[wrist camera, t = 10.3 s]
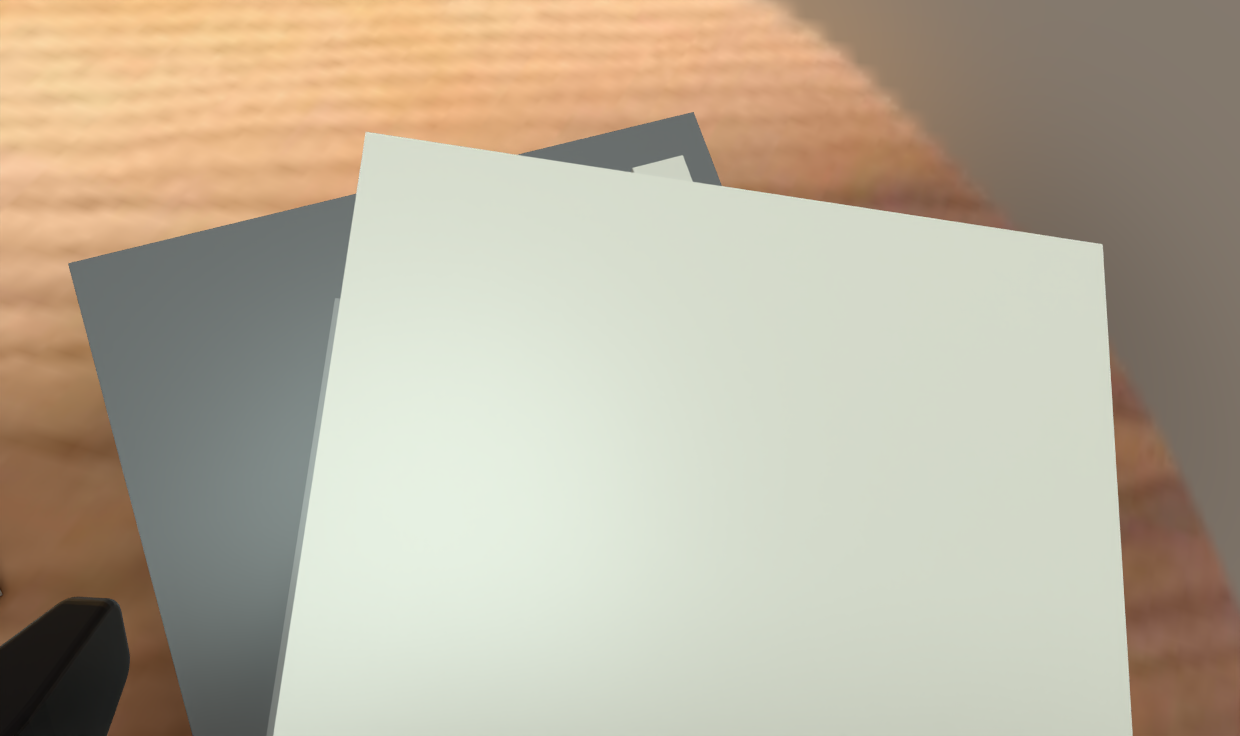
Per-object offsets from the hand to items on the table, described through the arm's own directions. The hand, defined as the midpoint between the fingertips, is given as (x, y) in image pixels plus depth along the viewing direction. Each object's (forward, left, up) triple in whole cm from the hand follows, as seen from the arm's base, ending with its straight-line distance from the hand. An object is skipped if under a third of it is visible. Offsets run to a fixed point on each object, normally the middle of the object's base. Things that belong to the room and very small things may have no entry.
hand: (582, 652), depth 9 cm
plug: (+1, 0, -7) cm, 7 cm away
